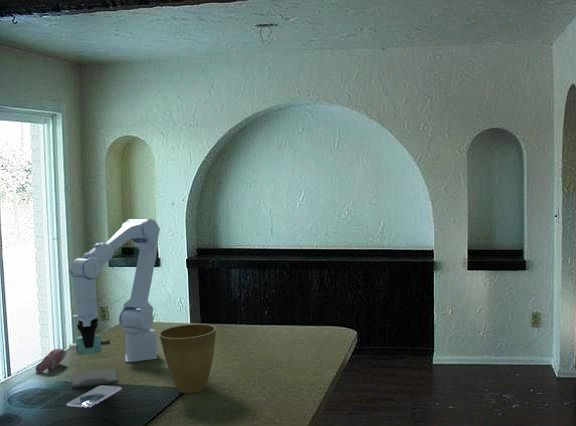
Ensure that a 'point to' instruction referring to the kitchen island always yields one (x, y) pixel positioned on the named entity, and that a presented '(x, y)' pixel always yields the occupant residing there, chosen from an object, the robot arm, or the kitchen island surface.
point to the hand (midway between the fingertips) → (89, 345)
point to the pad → (94, 377)
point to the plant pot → (189, 355)
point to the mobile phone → (94, 396)
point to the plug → (82, 350)
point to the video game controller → (51, 360)
